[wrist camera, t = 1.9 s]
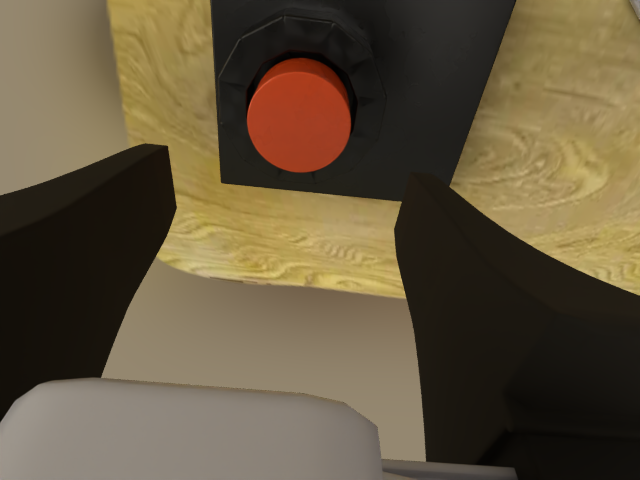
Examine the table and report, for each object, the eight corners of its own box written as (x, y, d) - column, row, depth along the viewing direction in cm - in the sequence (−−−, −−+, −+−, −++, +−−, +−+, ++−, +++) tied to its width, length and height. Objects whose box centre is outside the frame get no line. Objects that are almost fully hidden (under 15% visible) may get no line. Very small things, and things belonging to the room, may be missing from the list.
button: (356, 63, 15) (359, 78, 14) (341, 155, 18) (343, 177, 16) (255, 51, 15) (246, 65, 14) (254, 146, 18) (247, 167, 16)
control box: (501, -16, 17) (540, -5, 14) (434, 185, 23) (450, 225, 20) (219, -54, 16) (193, -50, 13) (229, 164, 22) (212, 202, 19)
